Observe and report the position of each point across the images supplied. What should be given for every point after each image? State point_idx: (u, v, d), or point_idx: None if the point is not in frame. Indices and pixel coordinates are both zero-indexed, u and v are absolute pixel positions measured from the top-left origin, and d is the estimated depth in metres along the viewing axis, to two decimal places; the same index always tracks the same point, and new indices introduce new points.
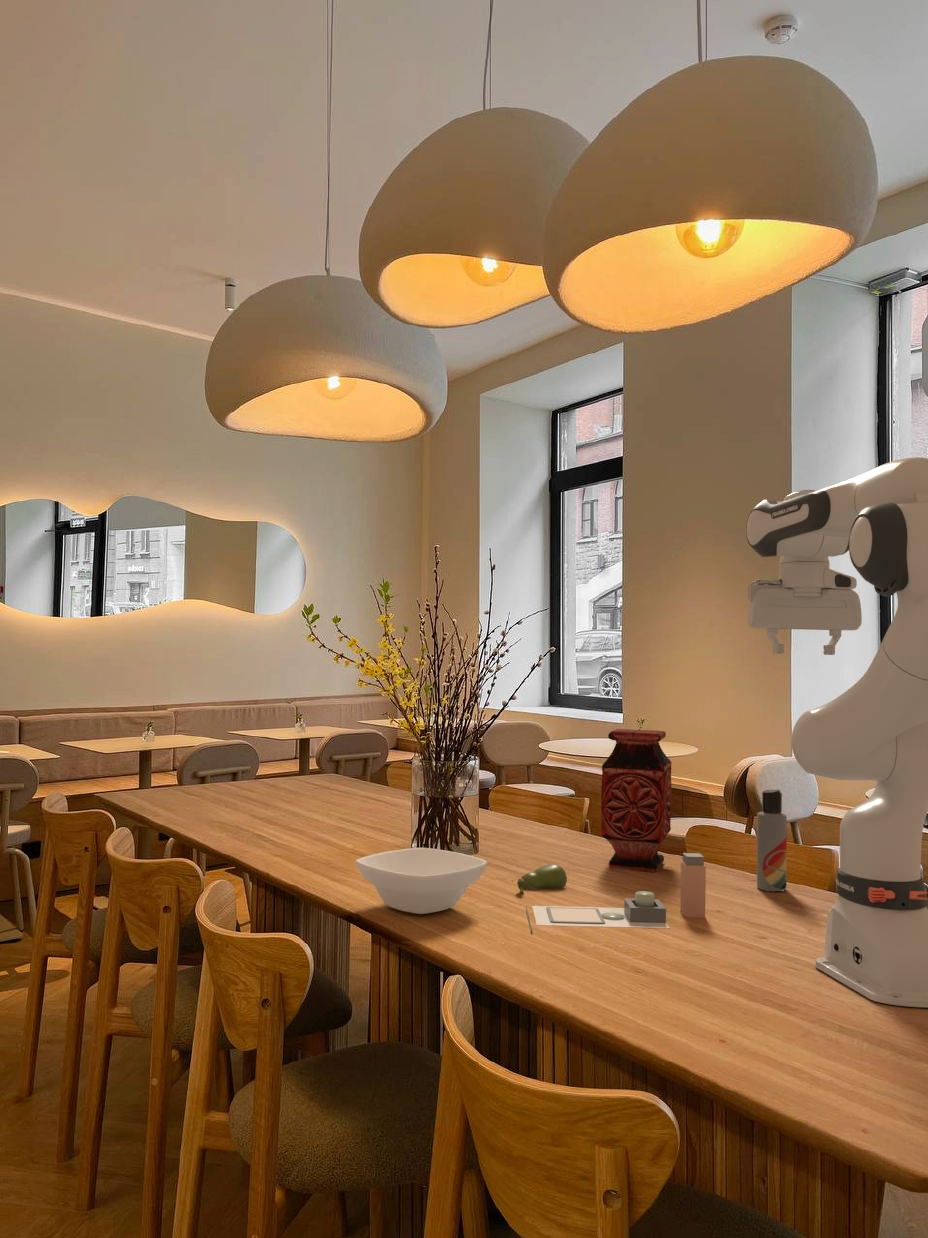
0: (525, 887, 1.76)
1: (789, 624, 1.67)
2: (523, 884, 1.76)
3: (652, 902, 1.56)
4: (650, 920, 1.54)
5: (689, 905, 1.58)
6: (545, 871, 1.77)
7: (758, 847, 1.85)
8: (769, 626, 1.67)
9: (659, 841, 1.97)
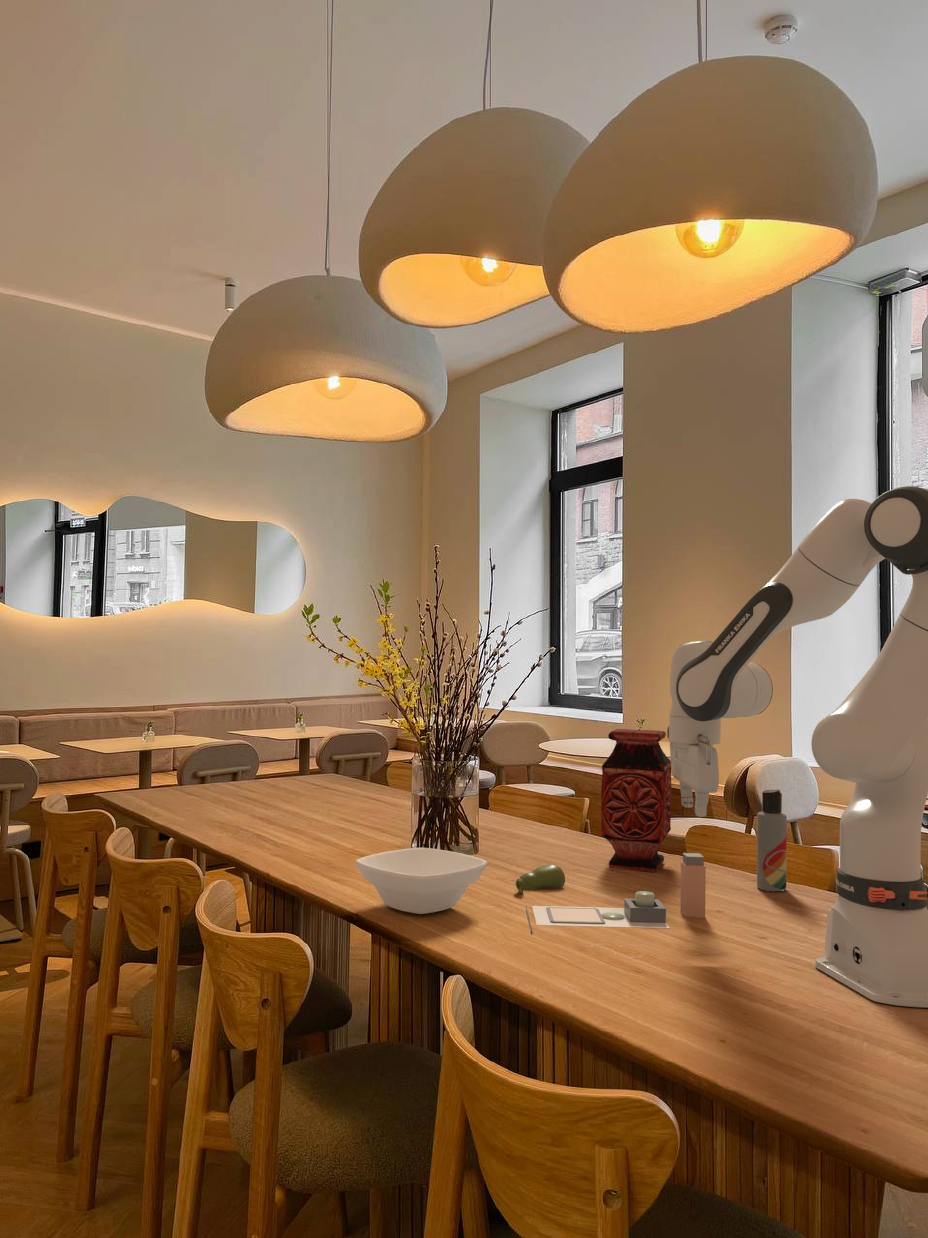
0: (523, 887, 1.75)
1: None
2: (521, 884, 1.76)
3: (652, 902, 1.56)
4: (650, 920, 1.54)
5: (689, 905, 1.58)
6: (543, 872, 1.77)
7: (758, 847, 1.85)
8: None
9: (659, 841, 1.97)
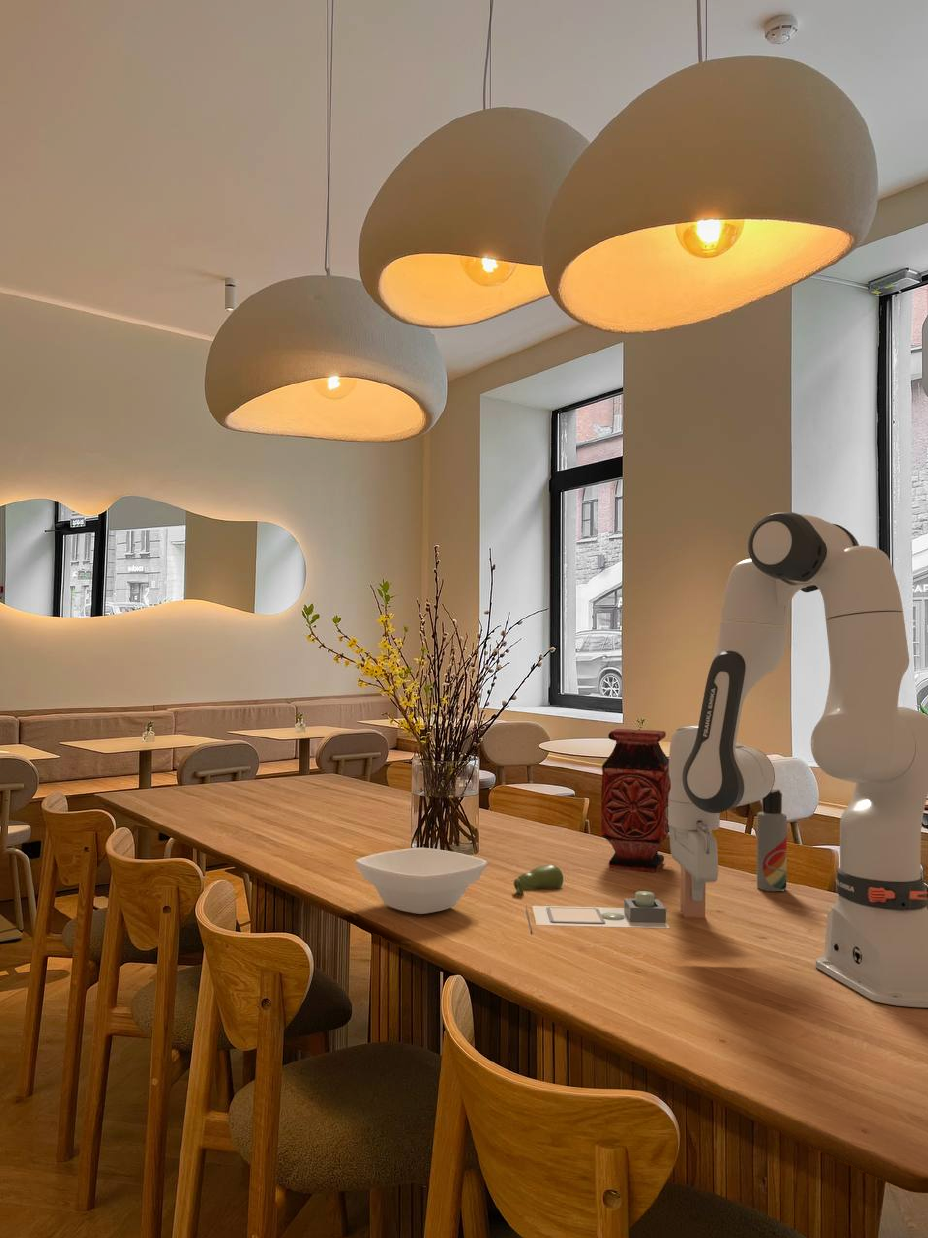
0: (521, 887, 1.75)
1: None
2: (519, 884, 1.75)
3: (652, 902, 1.56)
4: (650, 920, 1.54)
5: (689, 905, 1.58)
6: (542, 872, 1.77)
7: (758, 847, 1.85)
8: None
9: (659, 841, 1.97)
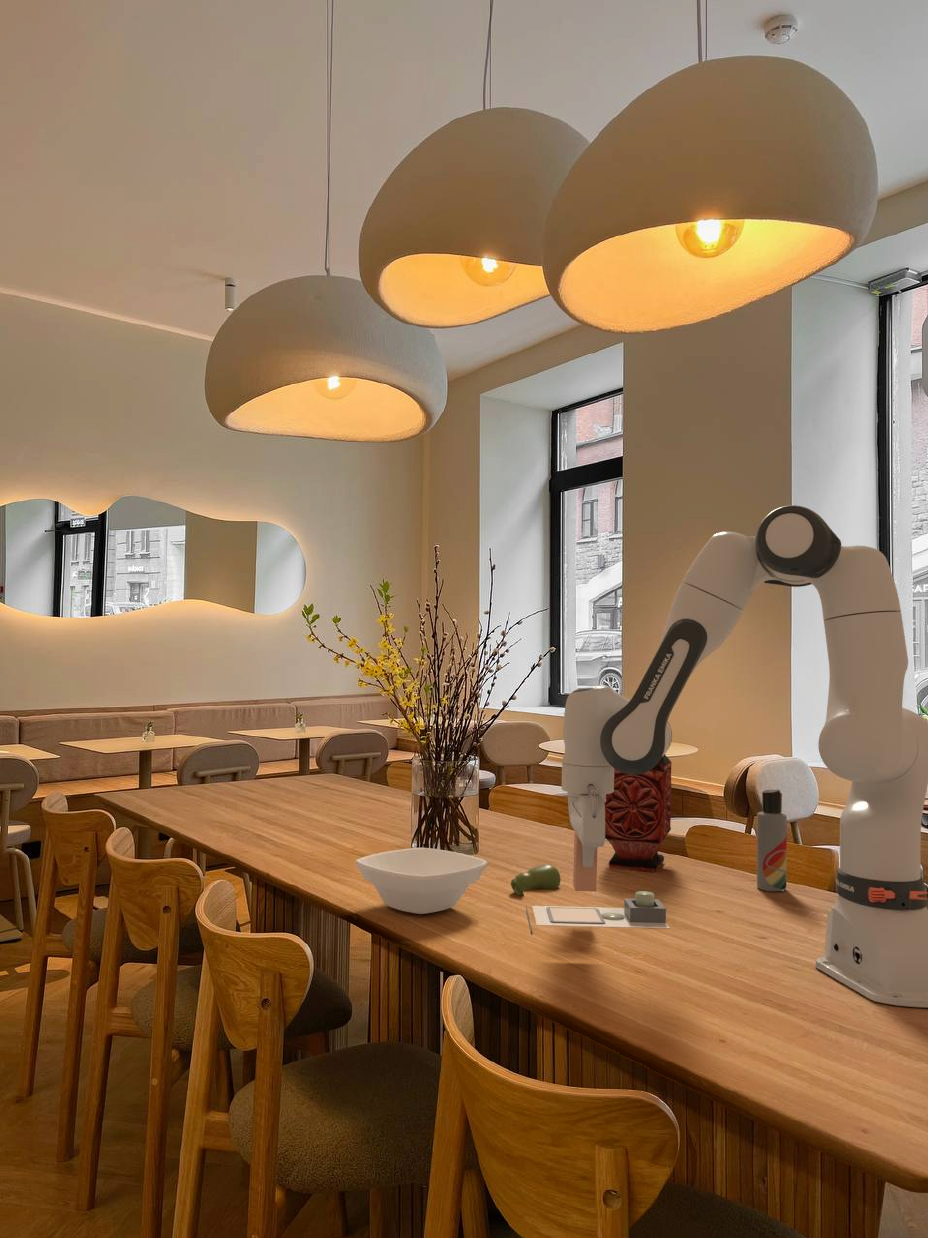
0: (519, 887, 1.75)
1: None
2: (517, 884, 1.75)
3: (652, 902, 1.56)
4: (650, 920, 1.54)
5: (580, 872, 1.53)
6: (539, 872, 1.76)
7: (758, 847, 1.85)
8: None
9: (659, 841, 1.97)
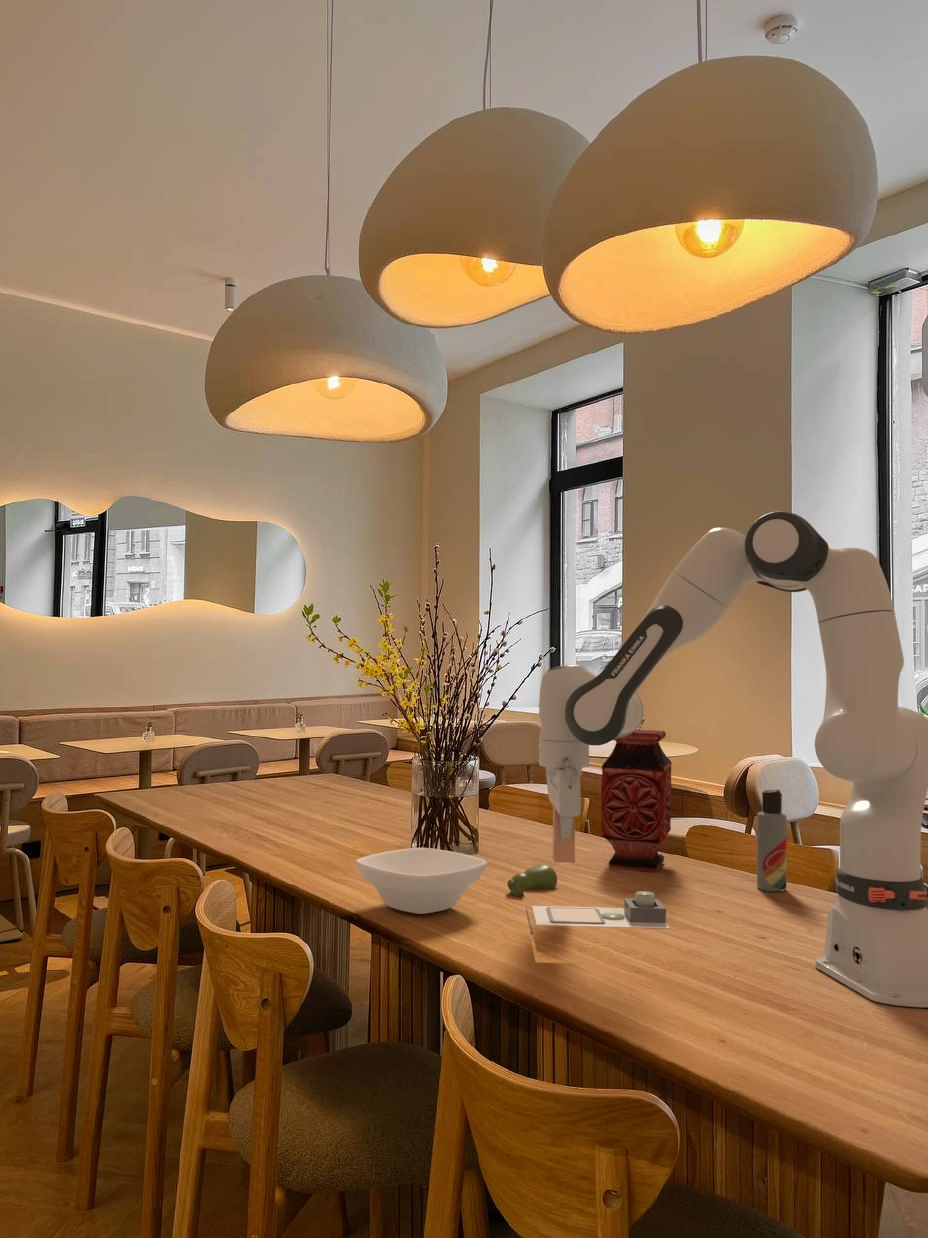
0: (515, 888, 1.75)
1: None
2: (513, 885, 1.75)
3: (652, 902, 1.56)
4: (650, 920, 1.54)
5: (559, 844, 1.59)
6: (536, 872, 1.76)
7: (758, 847, 1.85)
8: None
9: (659, 841, 1.97)
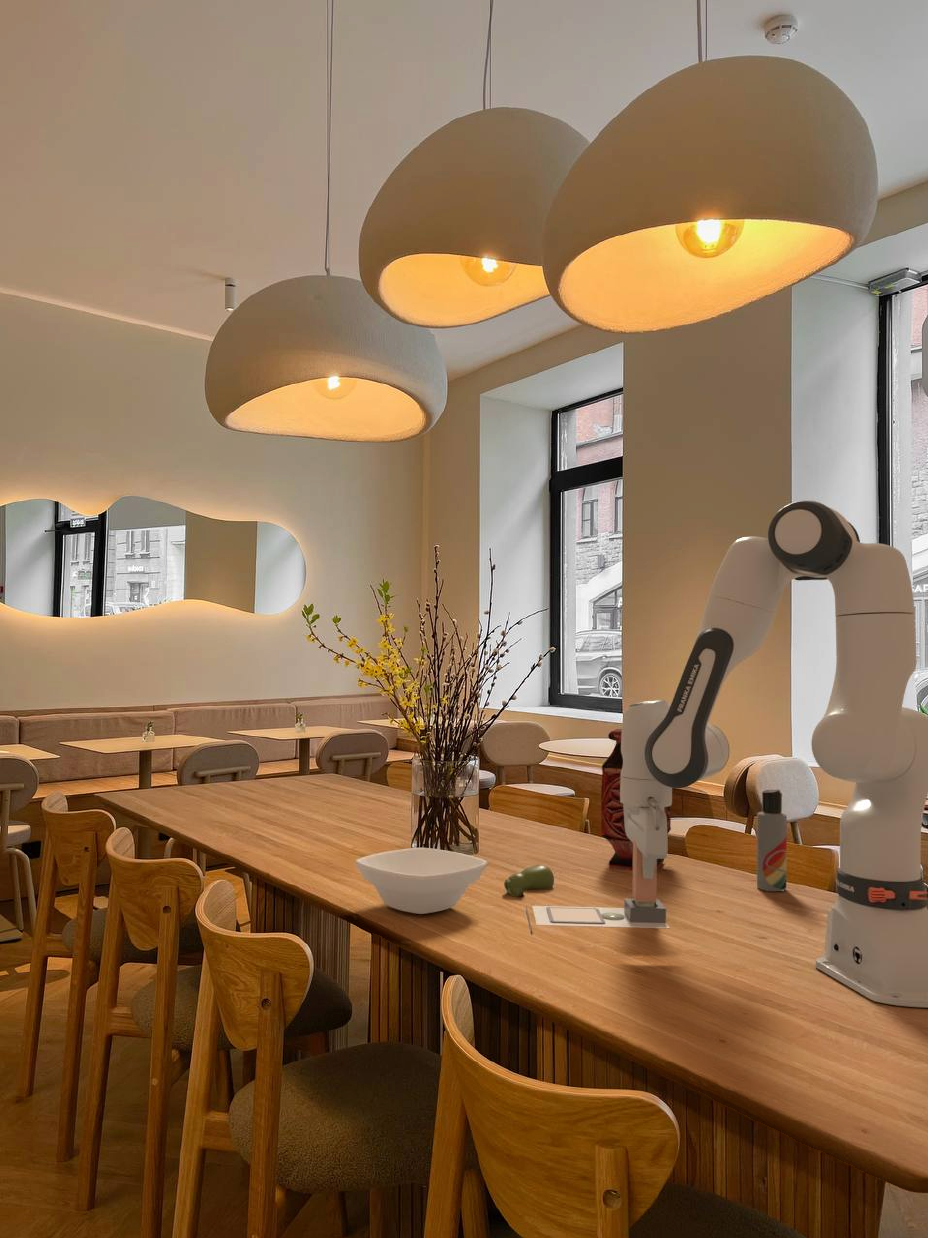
0: (512, 888, 1.75)
1: None
2: (510, 885, 1.75)
3: None
4: (650, 920, 1.54)
5: (640, 883, 1.56)
6: (532, 872, 1.76)
7: (758, 847, 1.85)
8: None
9: None
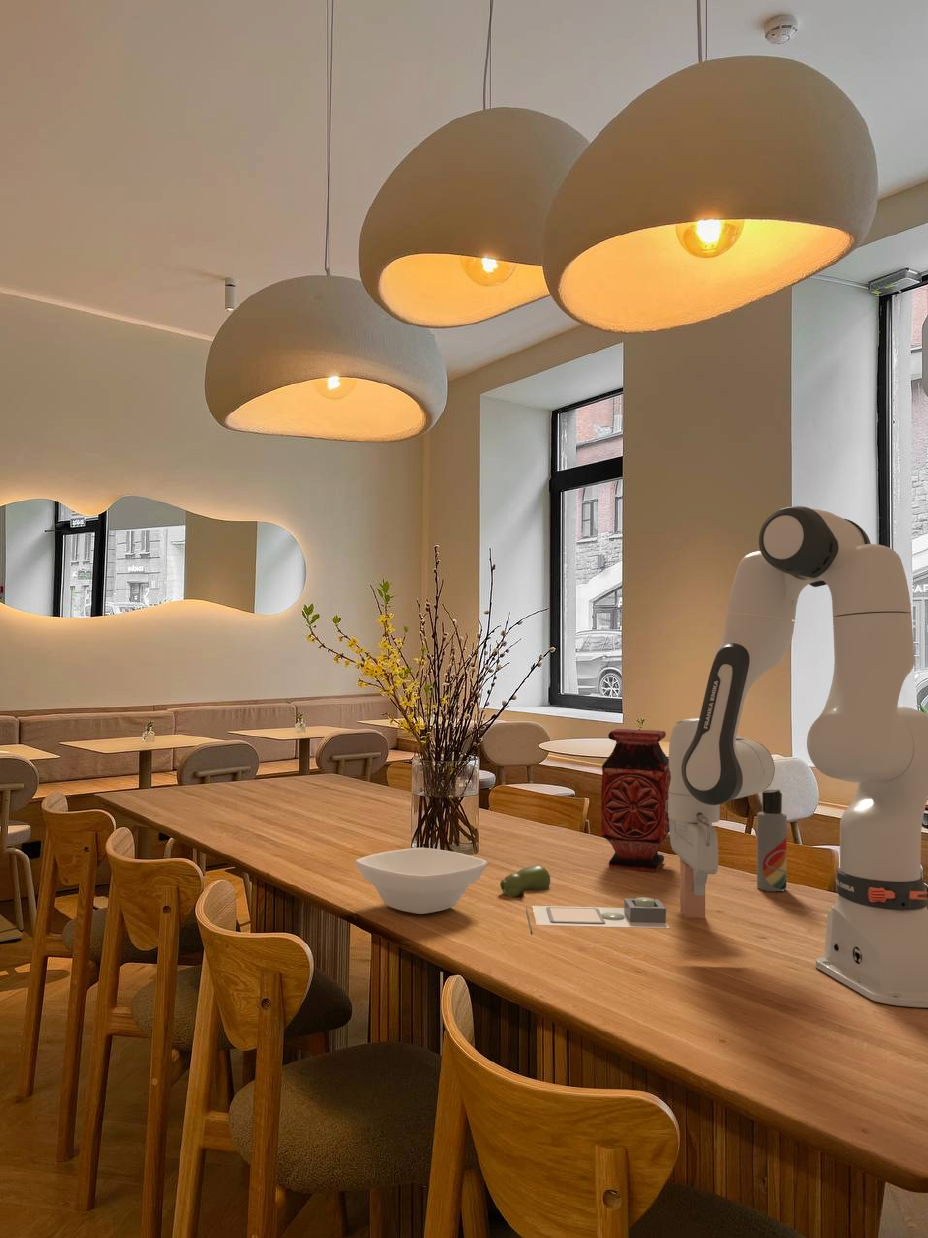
0: (508, 888, 1.74)
1: None
2: (506, 885, 1.74)
3: None
4: (650, 920, 1.54)
5: (689, 905, 1.58)
6: (528, 873, 1.76)
7: (758, 847, 1.85)
8: None
9: (659, 841, 1.97)
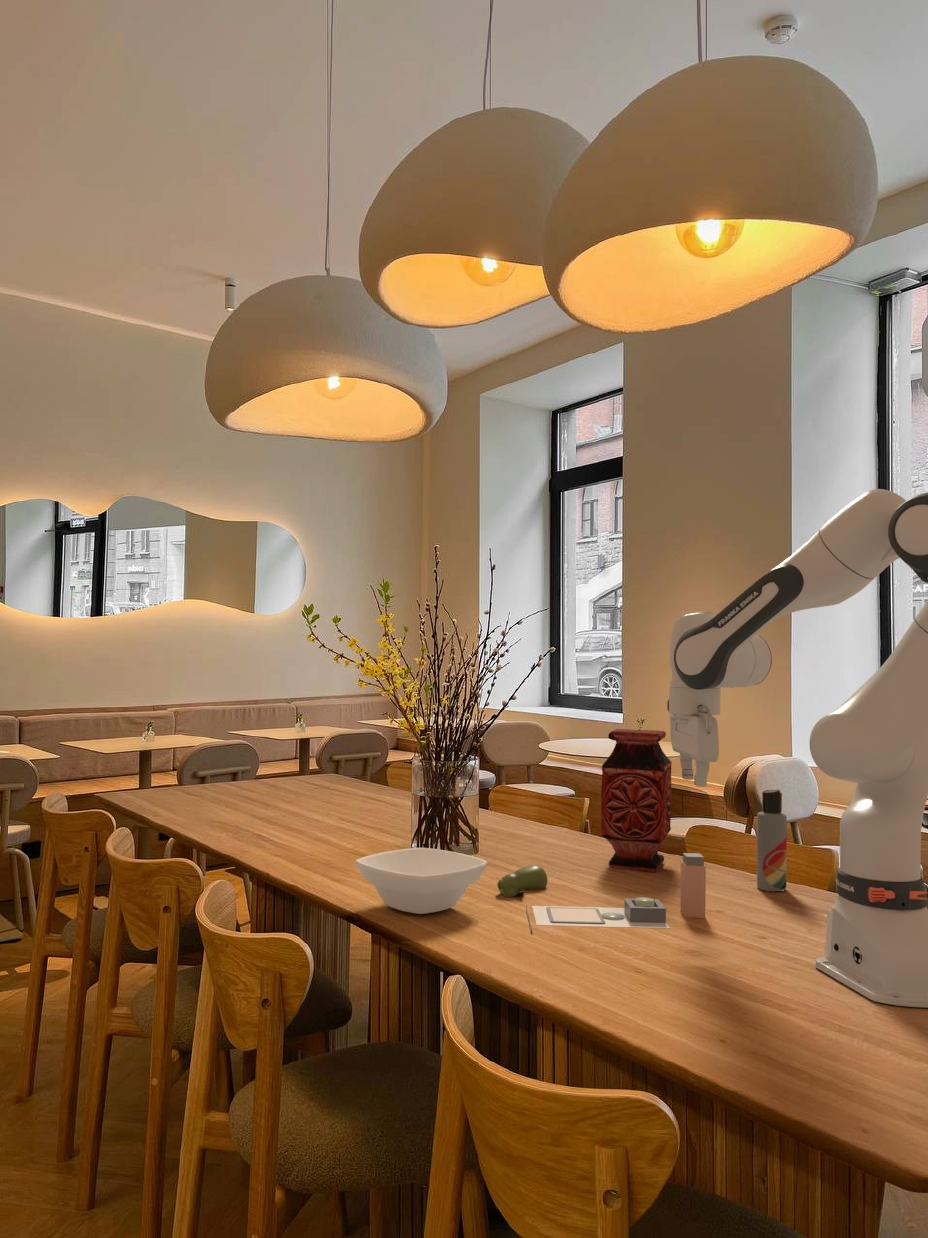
0: (505, 888, 1.74)
1: None
2: (503, 885, 1.74)
3: None
4: (650, 920, 1.54)
5: (689, 905, 1.58)
6: (525, 873, 1.75)
7: (758, 847, 1.85)
8: None
9: (659, 841, 1.97)
